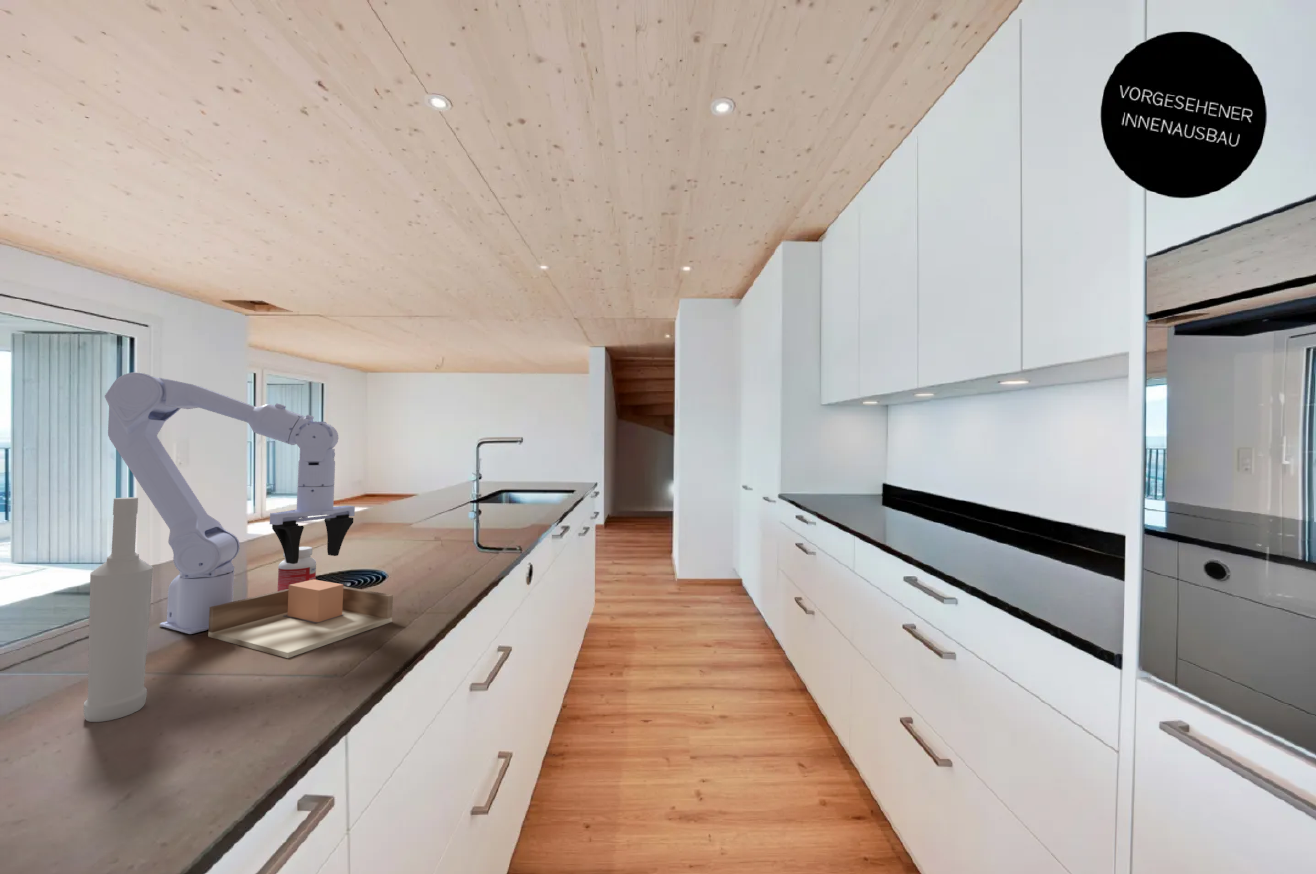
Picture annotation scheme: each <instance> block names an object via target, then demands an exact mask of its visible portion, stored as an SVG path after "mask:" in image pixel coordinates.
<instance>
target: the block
mask: <svg viewBox="0 0 1316 874" xmlns="http://www.w3.org/2000/svg"><path fill="white" fill-rule="evenodd" d="M343 586H344V584H343V583H342V584H341V583H337V582H331V581H325V580H318V579H316V580H315V579H313V580H309V581H304V582H300V583H295V584H291V585H289V591H288V615H287V616H290V617H295V618H300V619H304V620H309V621H313V622H321V621H324V620H327V619H331V618H334V617H337V616H340V615H342V607H343Z"/></svg>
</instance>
